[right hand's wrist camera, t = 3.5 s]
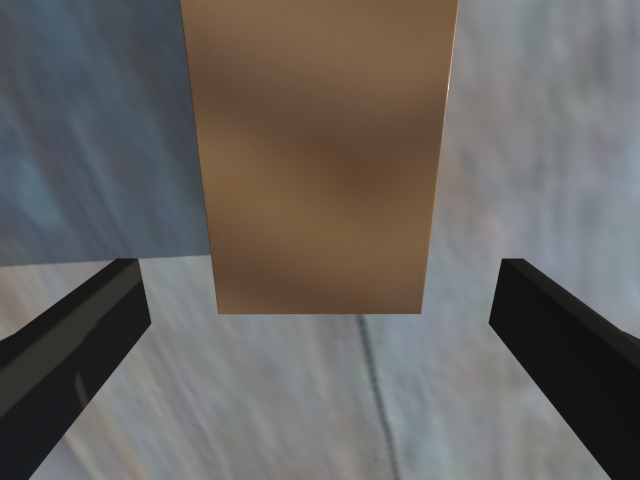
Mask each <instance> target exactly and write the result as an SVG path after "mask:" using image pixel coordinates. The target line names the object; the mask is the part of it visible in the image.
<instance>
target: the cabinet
mask: <svg viewBox="0 0 640 480" xmlns="http://www.w3.org/2000/svg"><path fill="white" fill-rule="evenodd" d="M458 4H459V0H180V6H181V14H182V22H183V30H184V39H185V47H186V55H187V63H188V71H189V79H190V87H191V96H192V104H193V112H194V120H195V128H196V136H197V144H198V153H199V161H200V169H201V177H202V185H203V193H204V201H205V210H206V218H207V226H208V234H209V242H210V250H211V258H212V267H213V275H214V283H215V291H216V299H217V307H218V314H421V312H422V304H423V295H424V287H425V279H426V270H427V262H428V254H429V246H430V237H431V229H432V221H433V212H434V204H435V196H436V187H437V179H438V171H439V162H440V154H441V146H442V137H443V129H444V121H445V112H446V104H447V96H448V87H449V79H450V71H451V63H452V54H453V46H454V38H455V29H456V21H457V13H458Z"/></svg>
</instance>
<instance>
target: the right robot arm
mask: <svg viewBox="0 0 640 480" xmlns="http://www.w3.org/2000/svg"><path fill="white" fill-rule="evenodd" d="M150 325H151V319H150V314H149V309H148V304H147V300H146V295H145V290H144V285H143V280H142V275H141V271H140V266H139V261H138V259H115V260H114V261H113V262H111V263H110V264H109V265H107V266H106V267H105V268H103V269H102V270H101V271H99V272H98V273H96V274H95V275H94V276H92V277H91V278H90V279H88V280H87V281H86V282H84V283H83V284H81V285H80V286H79V287H77V288H76V289H75V290H73V291H72V292H71V293H69V294H68V295H67V296H65V297H64V298H62V299H61V300H60V301H58V302H57V303H56V304H54V305H53V306H52V307H50V308H49V309H47V310H46V311H45V312H43V313H42V314H41V315H39V316H38V317H37V318H35V319H34V320H33V321H31V322H30V323H28V324H27V325H26V326H24V327H23V328H22V329H20V330H19V331H18V332H16V333H15V334H13V335H11V336H9V337H7V338H5V339H3V340H1V341H0V480H29V478H30V477H31V476H32V474H33V473H34V472H35V471H36V469H37V468H38V467H39V466H40V464H41V463H42V462H43V461H44V459H45V458H46V457H47V455H48V454H49V453H50V452H51V450H52V449H53V448H54V447H55V445H56V444H57V443H58V441H59V440H60V439H61V438H62V436H63V435H64V434H65V433H66V431H67V430H68V429H69V427H70V426H71V425H72V424H73V422H74V421H75V420H76V419H77V417H78V416H79V415H80V413H81V412H82V411H83V410H84V408H85V407H86V406H87V405H88V403H89V402H90V401H91V400H92V398H93V397H94V396H95V394H96V393H97V392H98V391H99V389H100V388H101V387H102V386H103V384H104V383H105V382H106V380H107V379H108V378H109V377H110V375H111V374H112V373H113V372H114V370H115V369H116V368H117V366H118V365H119V364H120V363H121V361H122V360H123V359H124V358H125V356H126V355H127V354H128V352H129V351H130V350H131V349H132V347H133V346H134V345H135V344H136V342H137V341H138V340H139V339H140V337H141V336H142V335H143V333H144V332H145V331H146V330H147V328H148V327H149V326H150ZM489 325H490V326H491V327H492V328H493V330H494V331H495V332H496V333H497V335H498V336H499V337H500V339H501V340H502V341H503V342H504V344H505V345H506V346H507V347H508V349H509V350H510V351H511V352H512V354H513V355H514V356H515V358H516V359H517V360H518V361H519V363H520V364H521V365H522V366H523V368H524V369H525V370H526V372H527V373H528V374H529V375H530V377H531V378H532V379H533V380H534V382H535V383H536V384H537V386H538V387H539V388H540V389H541V391H542V392H543V393H544V394H545V396H546V397H547V398H548V400H549V401H550V402H551V403H552V405H553V406H554V407H555V408H556V410H557V411H558V412H559V413H560V415H561V416H562V417H563V419H564V420H565V421H566V422H567V424H568V425H569V426H570V427H571V429H572V430H573V431H574V433H575V434H576V435H577V436H578V438H579V439H580V440H581V441H582V443H583V444H584V445H585V447H586V448H587V449H588V450H589V452H590V453H591V454H592V455H593V457H594V458H595V459H596V461H597V462H598V463H599V464H600V466H601V467H602V468H603V469H604V471H605V472H606V473H607V474H608V476H609V477H610V478H611V480H640V339H638V338H636V337H634V336H632V335H630V334H628V333H626V332H624V331H621V330H620V329H618V328H617V327H616V326H614V325H613V324H612V323H610V322H609V321H607V320H606V319H605V318H603V317H602V316H601V315H599V314H598V313H597V312H595V311H594V310H592V309H591V308H590V307H588V306H587V305H586V304H584V303H583V302H582V301H580V300H579V299H578V298H576V297H575V296H573V295H572V294H571V293H569V292H568V291H567V290H565V289H564V288H563V287H561V286H560V285H558V284H557V283H556V282H554V281H553V280H552V279H550V278H549V277H548V276H546V275H545V274H544V273H542V272H541V271H539V270H538V269H537V268H535V267H534V266H533V265H531V264H530V263H529V262H527V261H526V260H524V259H502V261H501V266H500V271H499V275H498V280H497V285H496V290H495V295H494V300H493V304H492V309H491V314H490V319H489Z"/></svg>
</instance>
